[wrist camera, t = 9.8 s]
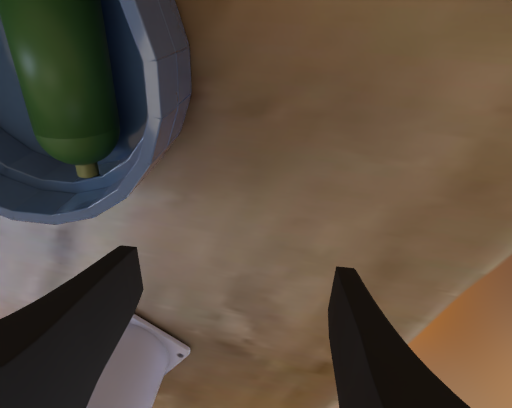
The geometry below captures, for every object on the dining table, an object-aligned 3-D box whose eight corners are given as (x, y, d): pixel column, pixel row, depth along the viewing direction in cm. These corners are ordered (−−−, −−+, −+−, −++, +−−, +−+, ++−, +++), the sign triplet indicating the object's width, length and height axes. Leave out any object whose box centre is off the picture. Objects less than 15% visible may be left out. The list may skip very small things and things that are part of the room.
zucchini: (104, 154, 22) (141, 174, 20) (34, 173, 19) (67, 199, 17) (66, -51, 17) (110, -56, 14) (-37, -64, 14) (-3, -71, 12)
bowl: (117, 218, 24) (75, 269, 19) (-97, 75, 20) (-208, 96, 16) (248, 39, 18) (231, 53, 13) (-29, -211, 14) (-182, -309, 10)
